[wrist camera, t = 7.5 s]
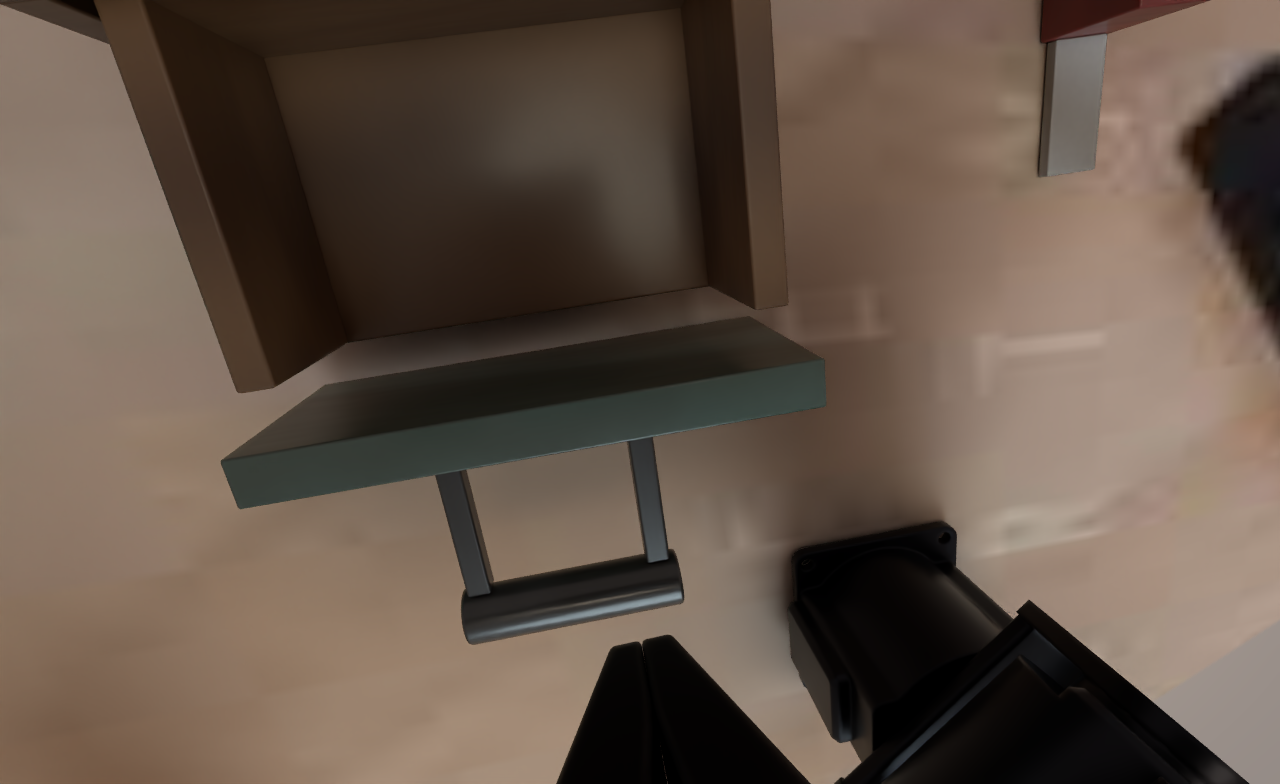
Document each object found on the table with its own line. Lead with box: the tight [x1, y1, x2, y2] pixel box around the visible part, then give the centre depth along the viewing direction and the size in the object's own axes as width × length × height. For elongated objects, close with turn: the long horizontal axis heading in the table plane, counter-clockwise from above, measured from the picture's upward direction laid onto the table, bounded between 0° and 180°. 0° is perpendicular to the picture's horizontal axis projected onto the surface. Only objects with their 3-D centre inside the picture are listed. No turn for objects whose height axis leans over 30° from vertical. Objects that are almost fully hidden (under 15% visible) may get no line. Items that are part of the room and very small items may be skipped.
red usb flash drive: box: [1039, 0, 1210, 177], centre depth 17 cm, size 9×2×3 cm, turn 8°
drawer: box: [94, 0, 826, 645], centre depth 15 cm, size 15×13×6 cm
